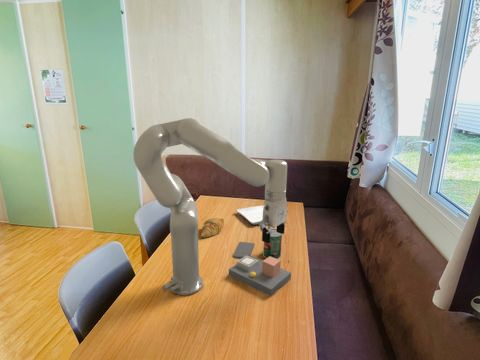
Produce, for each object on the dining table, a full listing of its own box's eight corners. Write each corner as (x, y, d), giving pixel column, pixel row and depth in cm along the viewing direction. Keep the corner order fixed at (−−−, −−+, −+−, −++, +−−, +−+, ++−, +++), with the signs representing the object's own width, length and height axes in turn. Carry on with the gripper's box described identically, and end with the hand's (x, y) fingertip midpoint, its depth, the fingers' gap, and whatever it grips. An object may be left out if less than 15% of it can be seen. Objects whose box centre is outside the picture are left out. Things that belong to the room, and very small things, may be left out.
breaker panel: (270, 296, 111) (271, 284, 110) (228, 275, 123) (228, 264, 122) (290, 279, 122) (291, 268, 121) (250, 261, 134) (250, 251, 133)
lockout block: (272, 277, 118) (273, 265, 116) (262, 272, 121) (262, 261, 119) (280, 271, 121) (280, 260, 120) (269, 267, 124) (269, 256, 123)
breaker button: (248, 269, 123) (248, 264, 122) (240, 265, 125) (240, 261, 125) (254, 264, 126) (254, 260, 125) (246, 261, 128) (246, 257, 128)
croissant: (207, 246, 153) (213, 235, 149) (191, 234, 155) (197, 223, 151) (226, 229, 171) (232, 218, 168) (212, 218, 174) (217, 208, 170)
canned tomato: (284, 255, 139) (285, 233, 136) (272, 261, 134) (273, 238, 131) (271, 248, 145) (272, 227, 142) (259, 254, 140) (260, 231, 137)
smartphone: (255, 242, 149) (249, 258, 135) (254, 244, 150) (249, 260, 136) (239, 241, 151) (232, 256, 137) (239, 243, 151) (232, 258, 137)
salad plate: (235, 214, 185) (235, 208, 184) (266, 209, 194) (266, 204, 193) (251, 228, 167) (251, 222, 166) (285, 222, 176) (285, 216, 175)
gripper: (270, 202, 103) (268, 249, 108) (296, 190, 116) (293, 232, 121) (252, 198, 108) (251, 242, 113) (279, 186, 121) (277, 227, 126)
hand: (273, 237), depth 117 cm, fingers open, 9 cm apart
